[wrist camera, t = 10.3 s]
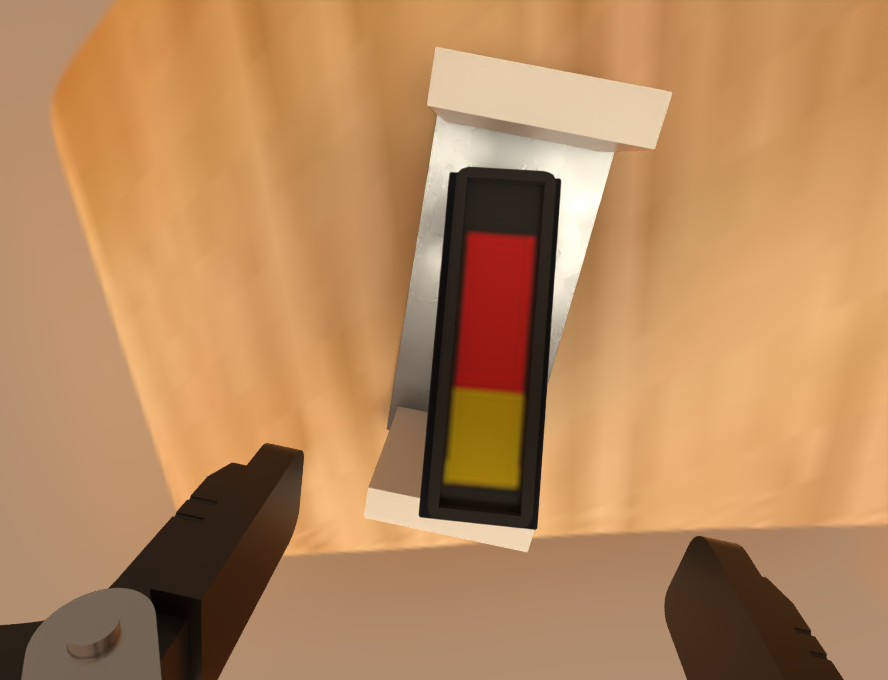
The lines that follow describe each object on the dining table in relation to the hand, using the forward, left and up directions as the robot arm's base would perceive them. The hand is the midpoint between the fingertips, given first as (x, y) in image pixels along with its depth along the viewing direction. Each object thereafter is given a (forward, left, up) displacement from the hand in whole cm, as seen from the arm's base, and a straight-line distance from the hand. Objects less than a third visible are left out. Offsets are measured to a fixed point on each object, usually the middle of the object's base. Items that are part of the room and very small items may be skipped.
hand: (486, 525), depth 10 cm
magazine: (0, 0, -19) cm, 19 cm away
